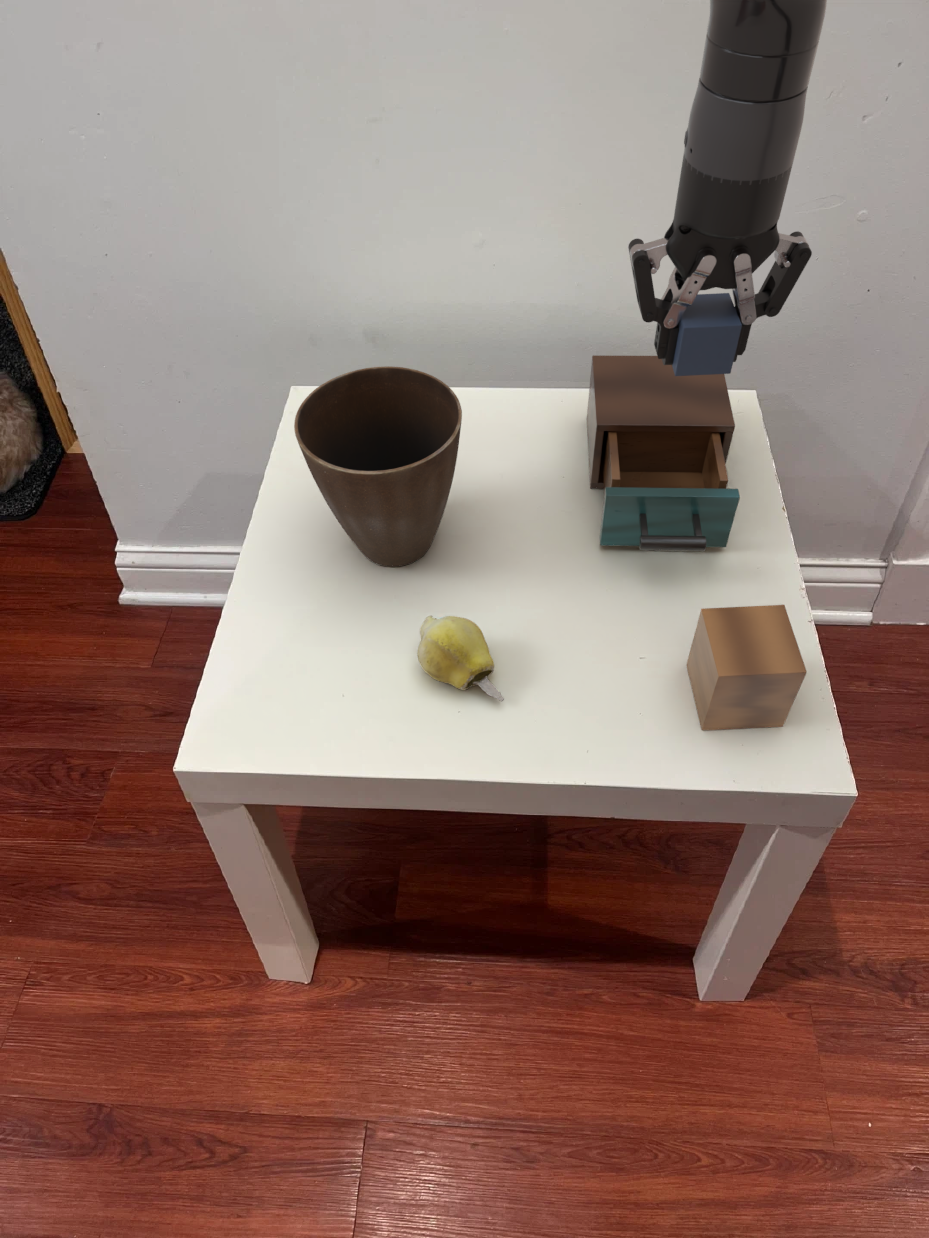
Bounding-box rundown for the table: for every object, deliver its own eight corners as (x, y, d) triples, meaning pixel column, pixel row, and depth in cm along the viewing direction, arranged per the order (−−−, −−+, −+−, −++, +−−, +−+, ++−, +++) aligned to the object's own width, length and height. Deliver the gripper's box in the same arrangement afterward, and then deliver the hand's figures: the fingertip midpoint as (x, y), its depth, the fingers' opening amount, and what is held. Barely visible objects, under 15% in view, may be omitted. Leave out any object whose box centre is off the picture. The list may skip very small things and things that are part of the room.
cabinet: (719, 490, 98) (735, 426, 91) (590, 488, 98) (596, 424, 92) (706, 420, 105) (720, 355, 98) (586, 419, 106) (592, 355, 99)
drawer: (731, 580, 89) (746, 530, 83) (601, 577, 89) (608, 528, 84) (713, 475, 98) (725, 424, 93) (595, 474, 98) (601, 423, 93)
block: (718, 341, 79) (729, 292, 75) (730, 373, 76) (742, 325, 73) (664, 343, 79) (673, 295, 75) (674, 376, 76) (683, 328, 73)
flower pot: (325, 606, 89) (296, 483, 77) (317, 500, 99) (291, 375, 86) (477, 585, 90) (474, 461, 78) (455, 483, 100) (449, 357, 87)
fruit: (479, 729, 80) (393, 662, 83) (517, 696, 84) (434, 633, 87) (498, 685, 76) (408, 616, 79) (537, 653, 80) (450, 588, 83)
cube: (763, 661, 83) (784, 604, 77) (783, 726, 79) (807, 672, 73) (686, 664, 84) (701, 608, 77) (701, 730, 79) (718, 676, 73)
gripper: (645, 181, 62) (619, 390, 75) (858, 171, 62) (794, 381, 75) (628, 131, 67) (606, 336, 80) (825, 122, 67) (770, 328, 80)
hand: (697, 357), depth 78 cm, fingers closed on block, 4 cm apart
